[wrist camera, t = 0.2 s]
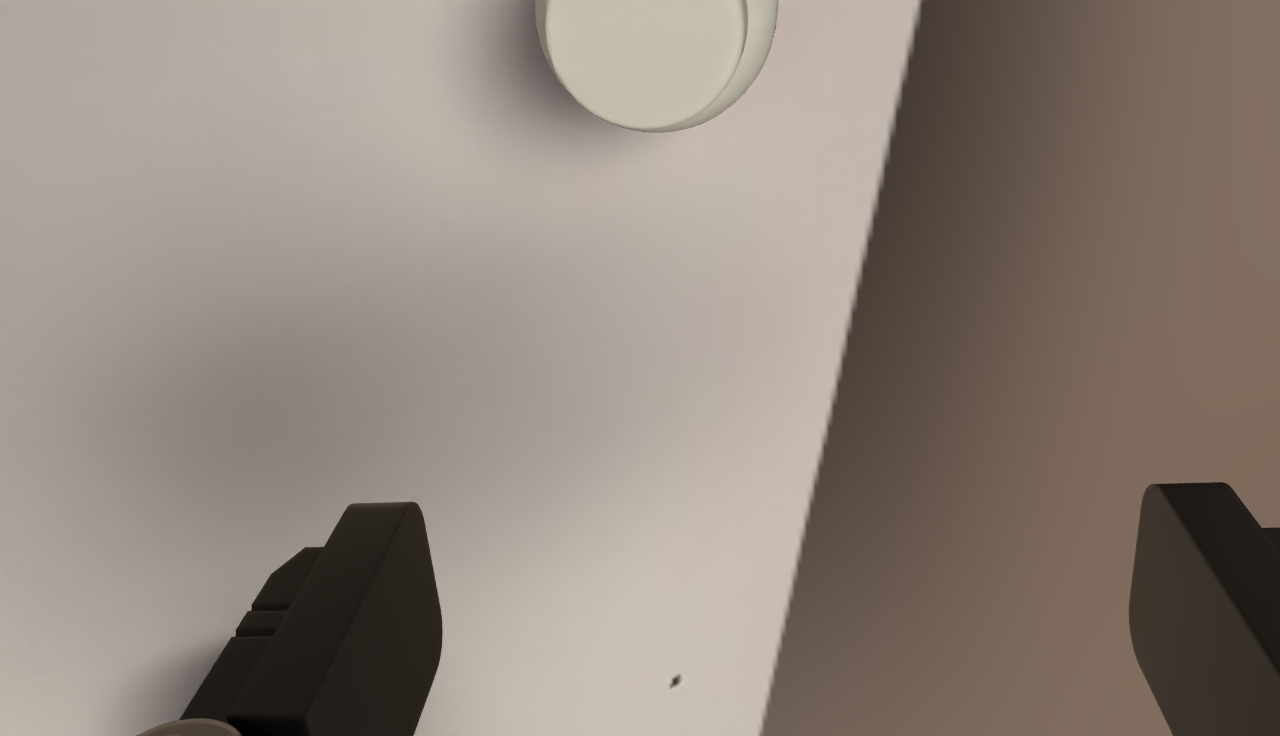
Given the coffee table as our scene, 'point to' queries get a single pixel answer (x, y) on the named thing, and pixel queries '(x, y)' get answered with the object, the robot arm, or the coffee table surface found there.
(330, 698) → the robot arm
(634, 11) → the pill bottle
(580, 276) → the coffee table surface
